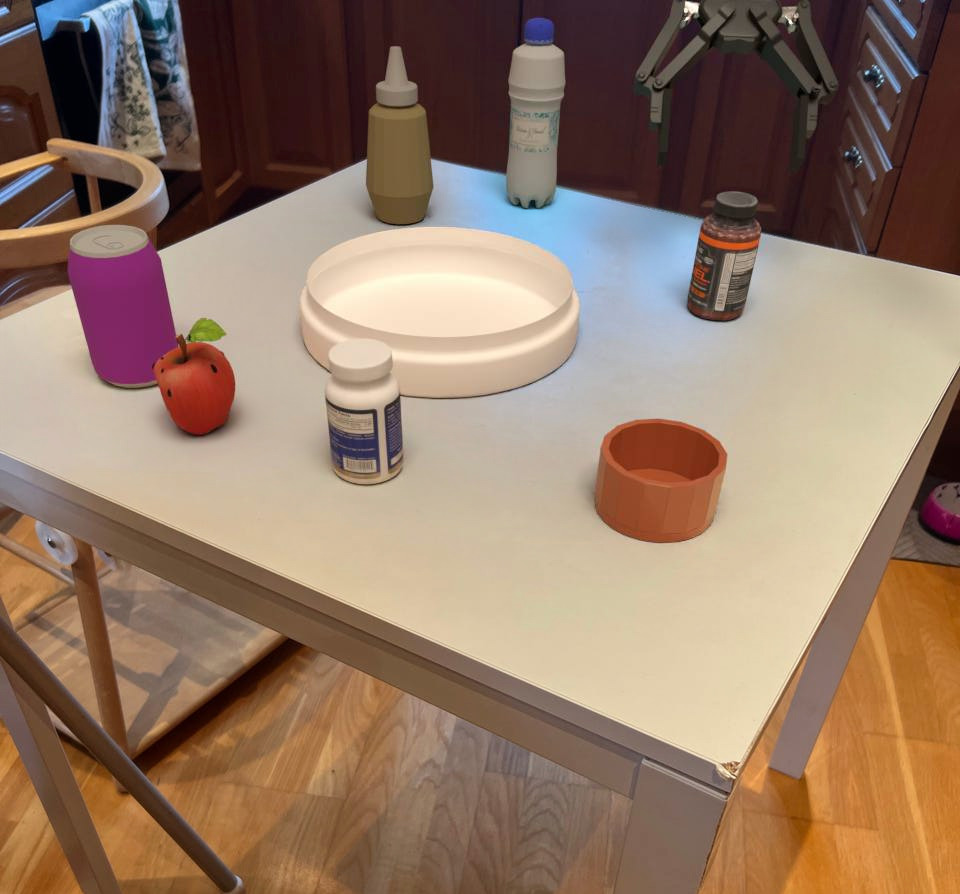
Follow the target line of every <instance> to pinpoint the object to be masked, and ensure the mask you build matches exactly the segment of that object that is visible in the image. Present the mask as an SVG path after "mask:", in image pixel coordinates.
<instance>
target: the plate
mask: <svg viewBox="0 0 960 894" xmlns="http://www.w3.org/2000/svg"><path fill="white" fill-rule="evenodd" d="M573 279H574V278H573V276H572V273H571V271H570V269H569V268H568V267H567V265H566V264H565V263H564V262H563V261H562V260H561V259H560V258H559V257H557V256H556V255H554V254H553V252H552V253H551V252H550V251H549V250H547V249H545V248H543V247H541V246H539V245H537V244H535V243H533V242H529V241H527V240H524V239H521V238H518V237H515V236H511V235H507V234H505V233H503V234H502V233H499V232H495V231H489V230H482V229H476V228H469V227H467V228H466V227H456V226H417V227H415V226H414V227H404V228H394V229H389V230H383V231H378V232H373V233H369V234H364V235H361V236H357V237H354V238H351V239H348V240H346V241H344V242H341V243H339V244H337V245H335V246H333V247H331V248H329V249H328V250H326V251H324V252H323V253H322V254H321V255H320V256H318V257H317V258H316V259H315V260H314V261H313V262H312V264H311V266H309V268H308V271H307V274H306V284H305V285H304V287H303V288H302V291H301V292H300V296H299V314H300V322H301V324H300V325H301V332H302V339H303V341H304V346H305V347H306V349H307V351H308V352H309V354H310V355H311V356H312V357H313V360H315V361H316V362H317V363H318V364H320V365H321V366H322V367H324V368H325V369H327V370H328V371H329V372H330V368H329V358H328V354H329V351H330V350H331V348H332V347H333V346H335V345H336V344H338V343H341V342H343V341H346V340H351V339H361V338H364V339H374V340H378V341H381V342H383V343H385V344H387V345H388V346H389V347H390V349H391V352H392V361H393V367H392V370H391V371H390V372H391V373H392V374H393V375H394V376H395V377H396V378H397V380H398V383H399V386H400V396H406V397H416V398H435V399H450V398H451V399H454V398H455V399H456V398H470V397H479V396H486V395H487V396H488V395H492V394H498V393H502V392H503V393H504V392H506V391H511V390H514V389H517V388H521V387H524V386H526V385H529V384H532V383H534V382H537V381H539V380H540V379H543V378H545V377H547V376H548V375H549V374H551V373H553V372H555V371H556V370H557V369H558V368H560V367H561V366H562V365H563V364H564V363H565V362H566V361H567V360H568V359H569V358H570V356H571V355H572V353H573V351H574V349H575V347H576V344H577V339H578V333H579V322H580V315H581V314H580V313H581V305H580V303H581V302H580V299H579V295H578V293H577V291H576V289H575V288H574V280H573Z"/></svg>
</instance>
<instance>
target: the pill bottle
mask: <svg viewBox="0 0 960 894" xmlns="http://www.w3.org/2000/svg"><path fill="white" fill-rule="evenodd" d="M328 358H329V368H330V371H329V372H330V373H331V375H330V376H329V378H327V381H326V382H325V386H324V400H325V409H326V417H327V427H328V436H329V437H328V438H329V444H330V445H329V446H330V455H331V463H332V468H333V470H334V472H335V473H336V475H337V476H339V477H340V478H341V479H343V480H345V481H347V482H350V483H352V484H358V485H374V484H379V483H383V482H386V481H388V480H390V479H392V478H394V477H395V476H396V475H398V473H400V471H401V470H402V468H403V464H404V443H403V442H404V441H403V423H402V400H401V395H400V386H399V383H398V380H397V378H396V377H395V376H394V375H393V374H392V373H391V372H390V371H391V370H392V367H393V361H392V352H391V349H390V347H389V346H388V345H387V344H385V343H383V342H381V341H378V340H374V339H364V338H361V339H351V340H346V341H343V342H341V343H338V344H336V345H335V346H333V347H332V348H331V350H330V351H329V354H328Z"/></svg>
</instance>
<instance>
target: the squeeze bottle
mask: <svg viewBox="0 0 960 894" xmlns="http://www.w3.org/2000/svg"><path fill="white" fill-rule="evenodd" d="M418 93H419V90H418V85H417V83H415V82H413V81H410V80H408V75H407V70H406V66H405V61H404V57H403V51H402V47H401V46H397V45H396V46H390V48H389V53H388V59H387V66H386V71H385V79H384V80H382V81H379V82H377V84H376V85H375V95H376V96H375V97H376V103H374V104H373V106H372V107H371V108H369V110H368V121H367V124H368V125H367V146H366V169H365V170H366V171H365V186H366V187H365V188H366V190H367V193H368V196H369V198H370V201H371V204H372V207H373V209H374V212H375V215H376V218H377V219H378V220H379V221H381V222H383V223H384V222H385V223H388V224H392V225H393V224H394V225H410V224H415V223H418V222H420V221H422V220H423V219H424V218H425V216H426V214H427V211H428V208H429V204H430V201H431V196H432V193H433V190H434V186H435V185H434V178H433V167H432V157H431V148H430V147H431V145H430V137H429V127H428V118H427V111H426V109H425V108H424V107H423V106H422V105H421V104H419V103H417V102H418V101H419V97H418V96H419V95H418Z"/></svg>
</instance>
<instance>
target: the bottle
mask: <svg viewBox="0 0 960 894" xmlns="http://www.w3.org/2000/svg"><path fill="white" fill-rule="evenodd" d="M523 33H524V34H523V39H524V42H525V43H522V44H521V45H520V46H517V47H516V48H515V49H514V50H513V51H512V56H511V63H510V69H509V75H508V76H509V77H508V81H507V82H508V86H509V87H508V89H509V90H508V95H509V98H510V114H509V115H510V117H509V140H508V158H507V164H506V165H507V166H506V173H505V174H506V176H505V187H506V193H507V197H508V199H509V202H510V203H511V204H512V205H514V206H517V205H519V203H520V204H521V206H522V208H524V209H528V208H529V206H530V202H531V201H535V207H536V208H537V209H540V208H542V207H543V206H544V205H546V206H547V205H549V204H551V202H552V201H553V200H554V197H555V194H556V188H557V175H558V165H557V164H558V157H557V156H558V145H559V129H560V118H561V117H560V116H561V115H560V114H561V104H562V103H561V102H562V100H563V99H564V97H565V91H564V90H565V87H566V84H567V83H566V71H565V70H566V67H565V65H566V64H565V53H564V51H563V50H562V49H561V48H559V47H558V46H556V45H555V44H553V42H554V39H555V38H554V37H555V36H554V35H555V26H554V23H553V21H552V20H550V19H548V18H545V17H533V18H530V19H528V20H527V21H526V22H525V24H524V32H523Z"/></svg>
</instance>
